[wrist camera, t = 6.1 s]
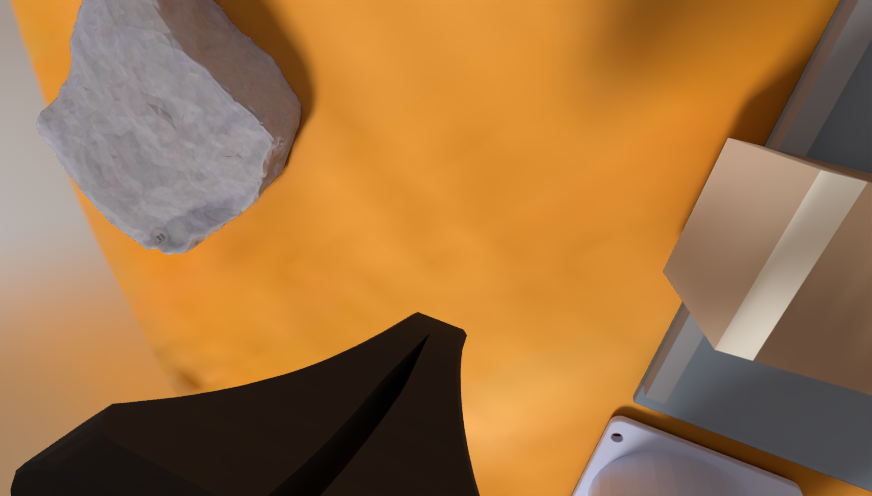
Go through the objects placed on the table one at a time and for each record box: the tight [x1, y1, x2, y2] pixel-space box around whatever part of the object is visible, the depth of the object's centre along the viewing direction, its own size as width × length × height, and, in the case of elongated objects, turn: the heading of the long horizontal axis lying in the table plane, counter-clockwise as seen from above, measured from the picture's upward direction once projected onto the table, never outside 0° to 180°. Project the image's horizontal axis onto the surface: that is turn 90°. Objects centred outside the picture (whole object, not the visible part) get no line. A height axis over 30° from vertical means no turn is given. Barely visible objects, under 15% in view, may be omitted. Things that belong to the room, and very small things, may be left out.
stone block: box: [36, 0, 302, 255], centre depth 22 cm, size 12×5×10 cm
